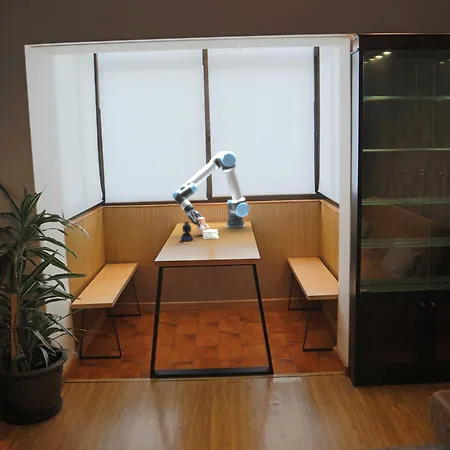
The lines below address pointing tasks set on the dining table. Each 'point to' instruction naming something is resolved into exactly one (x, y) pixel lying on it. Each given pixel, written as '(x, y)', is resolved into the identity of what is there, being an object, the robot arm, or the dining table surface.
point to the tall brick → (202, 222)
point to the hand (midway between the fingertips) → (205, 228)
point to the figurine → (186, 232)
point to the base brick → (210, 233)
